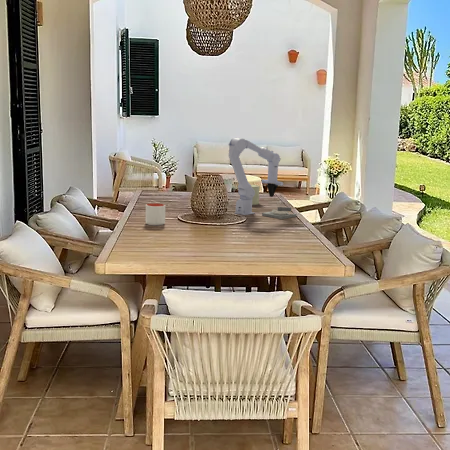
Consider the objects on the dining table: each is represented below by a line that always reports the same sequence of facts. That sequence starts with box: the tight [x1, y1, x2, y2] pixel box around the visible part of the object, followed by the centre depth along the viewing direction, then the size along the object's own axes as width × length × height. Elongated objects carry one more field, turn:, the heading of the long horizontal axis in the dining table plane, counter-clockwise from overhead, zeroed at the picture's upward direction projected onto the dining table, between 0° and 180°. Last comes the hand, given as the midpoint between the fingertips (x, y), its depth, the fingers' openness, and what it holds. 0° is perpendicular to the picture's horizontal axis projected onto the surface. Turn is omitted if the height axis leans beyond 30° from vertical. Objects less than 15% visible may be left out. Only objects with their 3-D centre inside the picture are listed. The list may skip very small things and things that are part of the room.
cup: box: [145, 202, 166, 226], centre depth 310 cm, size 10×10×10 cm
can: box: [250, 184, 260, 206], centre depth 389 cm, size 9×9×12 cm
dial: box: [271, 206, 292, 215], centre depth 348 cm, size 11×9×4 cm
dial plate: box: [261, 210, 297, 220], centre depth 349 cm, size 14×14×2 cm
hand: (271, 196), depth 358 cm, fingers closed
